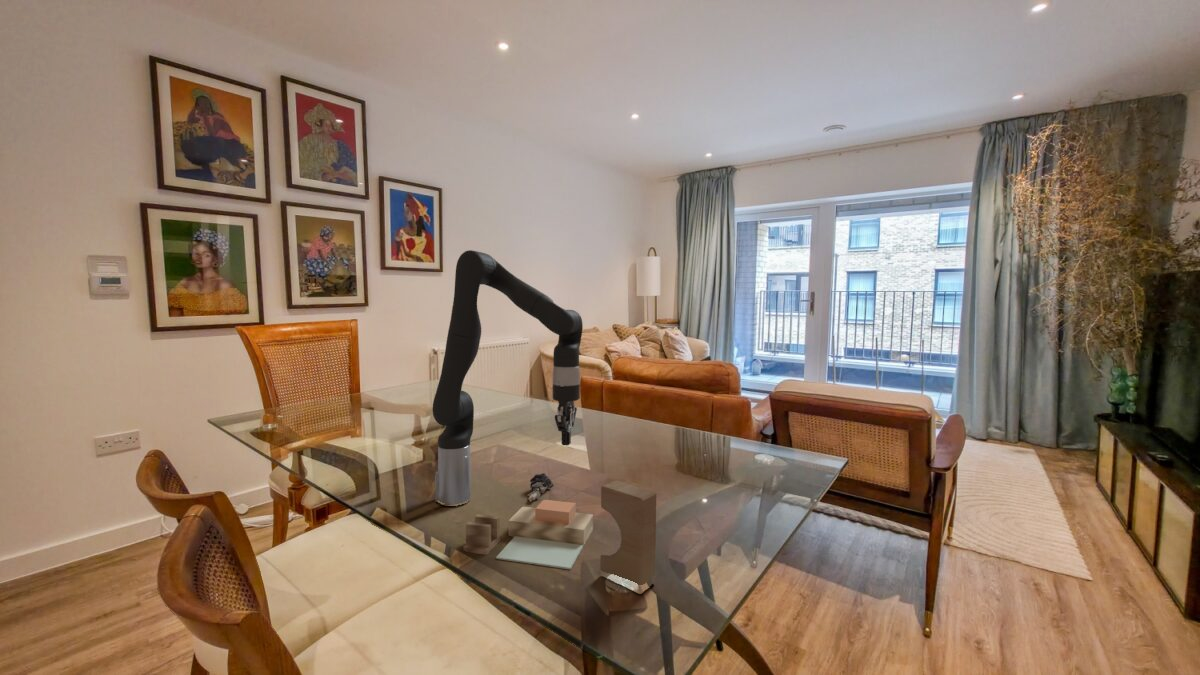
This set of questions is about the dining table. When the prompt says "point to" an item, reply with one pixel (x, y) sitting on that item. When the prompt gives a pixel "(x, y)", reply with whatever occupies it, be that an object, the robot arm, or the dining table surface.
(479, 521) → the slotted rack
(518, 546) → the mat
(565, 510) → the tile
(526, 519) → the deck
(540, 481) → the figurine
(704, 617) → the dining table surface
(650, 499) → the decorative block
